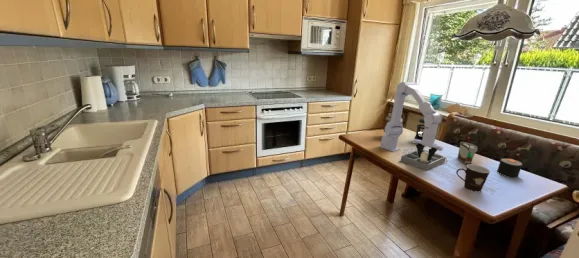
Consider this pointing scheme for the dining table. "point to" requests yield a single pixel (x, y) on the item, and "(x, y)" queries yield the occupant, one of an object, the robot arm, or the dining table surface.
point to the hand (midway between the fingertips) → (424, 158)
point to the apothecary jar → (390, 119)
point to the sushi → (509, 167)
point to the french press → (419, 129)
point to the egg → (424, 157)
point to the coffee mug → (474, 177)
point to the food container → (466, 152)
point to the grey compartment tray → (414, 160)
